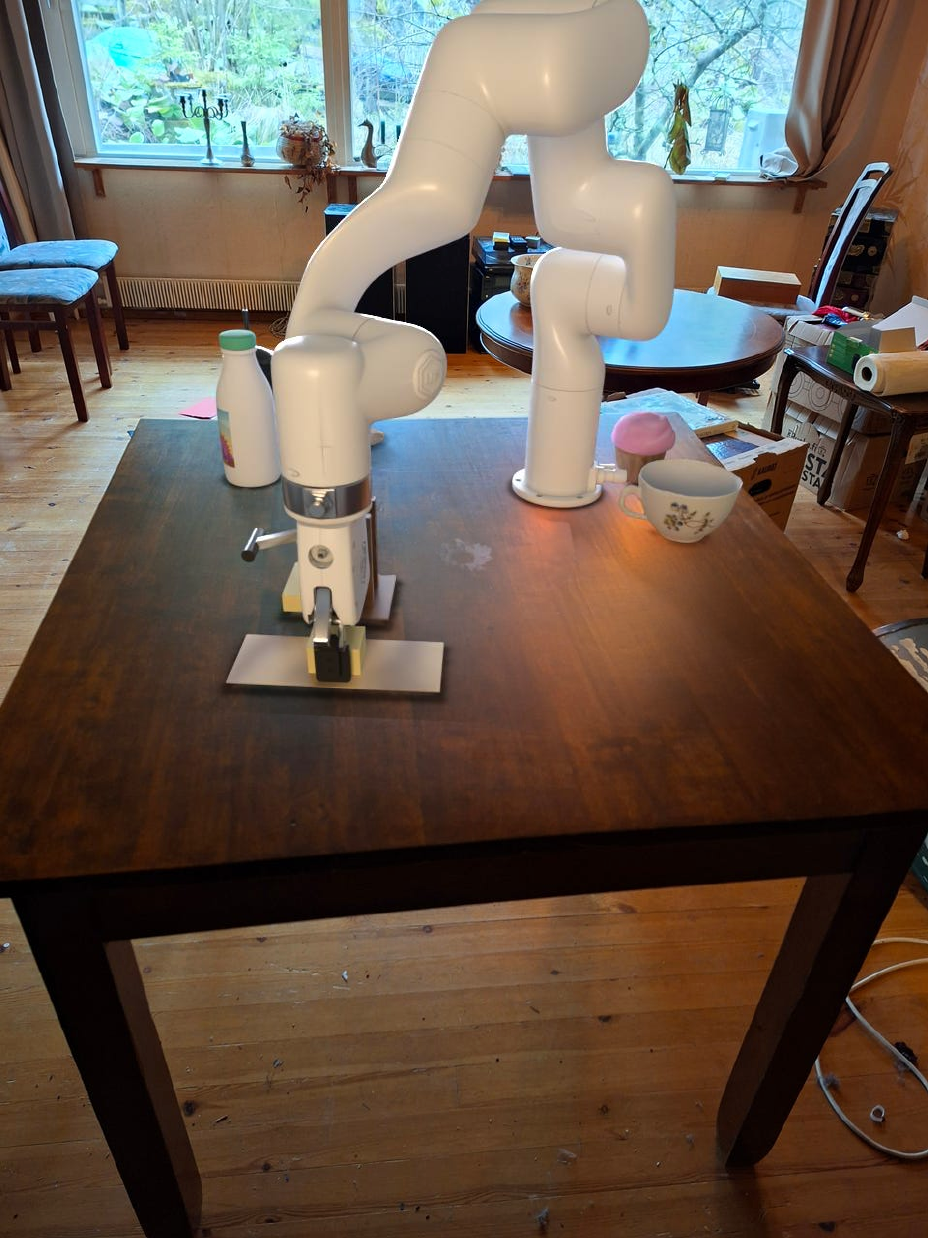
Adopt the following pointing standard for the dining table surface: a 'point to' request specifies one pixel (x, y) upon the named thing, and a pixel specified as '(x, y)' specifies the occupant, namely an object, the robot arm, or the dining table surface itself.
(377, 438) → the flatbread
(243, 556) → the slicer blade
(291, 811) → the dining table surface
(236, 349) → the milk bottle
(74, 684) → the dining table surface
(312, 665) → the butter pat
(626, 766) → the dining table surface
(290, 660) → the serving board
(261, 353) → the drinking cup
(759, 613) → the dining table surface
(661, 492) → the teacup
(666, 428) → the cupcake
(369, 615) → the wooden stand
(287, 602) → the butter stick
